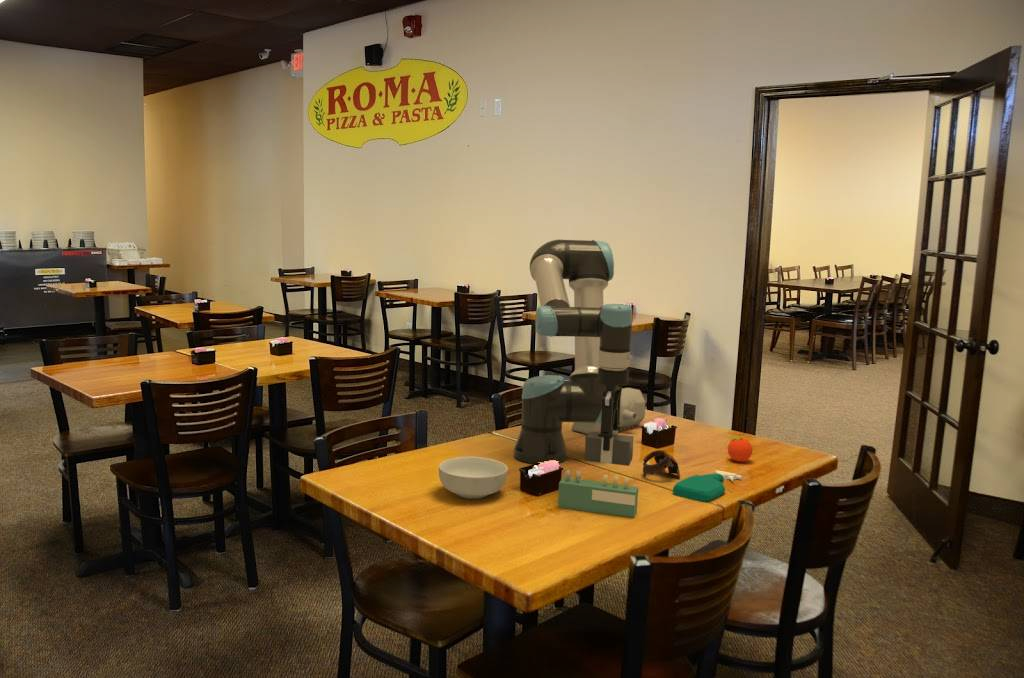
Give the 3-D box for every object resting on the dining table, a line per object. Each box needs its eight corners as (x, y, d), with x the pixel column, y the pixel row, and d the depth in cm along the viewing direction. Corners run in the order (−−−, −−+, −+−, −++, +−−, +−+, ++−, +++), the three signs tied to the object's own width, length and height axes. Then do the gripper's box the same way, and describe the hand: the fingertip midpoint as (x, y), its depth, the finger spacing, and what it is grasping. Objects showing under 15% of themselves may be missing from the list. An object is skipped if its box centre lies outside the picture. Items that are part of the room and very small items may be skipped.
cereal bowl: (454, 509, 186) (455, 479, 185) (427, 487, 201) (428, 460, 200) (518, 500, 194) (519, 471, 193) (488, 479, 209) (489, 453, 208)
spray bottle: (668, 495, 202) (708, 475, 222) (709, 505, 196) (747, 483, 215) (669, 483, 202) (709, 464, 221) (709, 493, 195) (747, 472, 215)
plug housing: (584, 460, 199) (585, 437, 198) (589, 454, 204) (590, 431, 203) (628, 465, 196) (630, 442, 195) (632, 459, 201) (633, 436, 200)
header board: (557, 507, 190) (559, 472, 188) (562, 501, 194) (564, 467, 193) (633, 518, 184) (635, 482, 183) (636, 511, 189) (639, 476, 188)
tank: (609, 441, 250) (611, 402, 248) (570, 431, 261) (572, 393, 260) (655, 429, 268) (658, 392, 266) (617, 420, 279) (619, 384, 277)
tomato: (721, 462, 232) (723, 438, 231) (724, 456, 238) (726, 432, 237) (750, 466, 229) (752, 442, 228) (752, 460, 235) (754, 436, 234)
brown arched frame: (685, 484, 212) (673, 460, 209) (651, 497, 214) (639, 472, 211) (679, 460, 223) (667, 437, 220) (647, 472, 225) (635, 449, 222)
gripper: (622, 376, 186) (616, 472, 190) (634, 362, 204) (629, 450, 207) (590, 373, 188) (585, 467, 192) (605, 360, 206) (601, 447, 210)
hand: (608, 458), depth 200 cm, fingers closed on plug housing, 6 cm apart
